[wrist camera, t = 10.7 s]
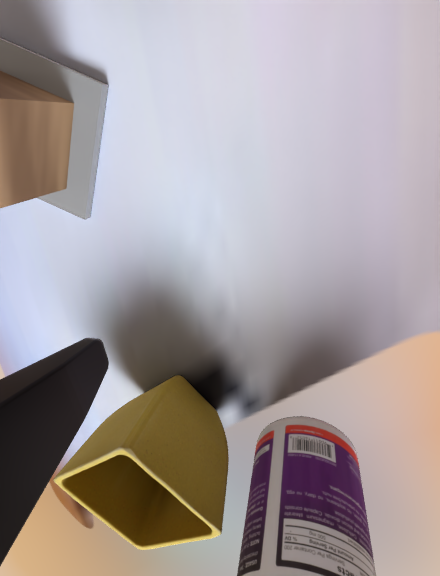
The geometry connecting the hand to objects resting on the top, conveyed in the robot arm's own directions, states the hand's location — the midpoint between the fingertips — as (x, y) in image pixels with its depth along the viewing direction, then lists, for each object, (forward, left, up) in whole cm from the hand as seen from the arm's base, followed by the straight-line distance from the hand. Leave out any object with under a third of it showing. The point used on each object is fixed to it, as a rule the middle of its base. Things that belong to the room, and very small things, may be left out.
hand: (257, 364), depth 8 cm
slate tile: (+15, -6, -12) cm, 20 cm away
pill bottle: (-2, +19, -12) cm, 23 cm away
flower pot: (+9, +16, -12) cm, 22 cm away
